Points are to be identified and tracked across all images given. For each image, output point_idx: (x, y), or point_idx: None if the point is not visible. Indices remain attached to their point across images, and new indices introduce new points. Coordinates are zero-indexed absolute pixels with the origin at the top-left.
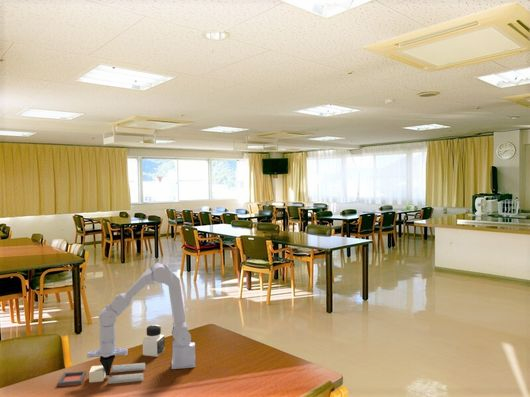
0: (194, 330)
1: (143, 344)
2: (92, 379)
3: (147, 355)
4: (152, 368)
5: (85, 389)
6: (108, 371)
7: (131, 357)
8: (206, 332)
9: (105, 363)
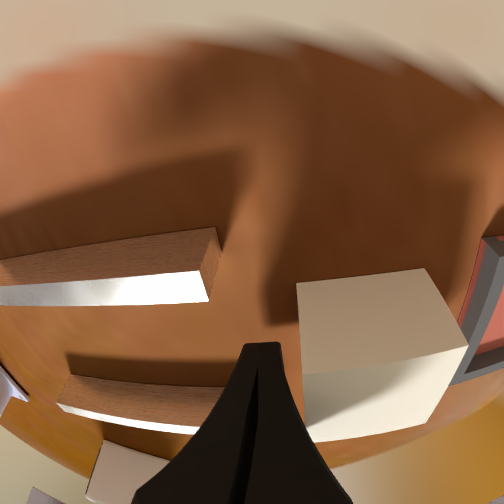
0: None
1: None
2: (406, 289)
3: (147, 455)
4: (50, 375)
5: (441, 130)
6: (244, 374)
7: None
8: (77, 468)
9: (265, 474)
